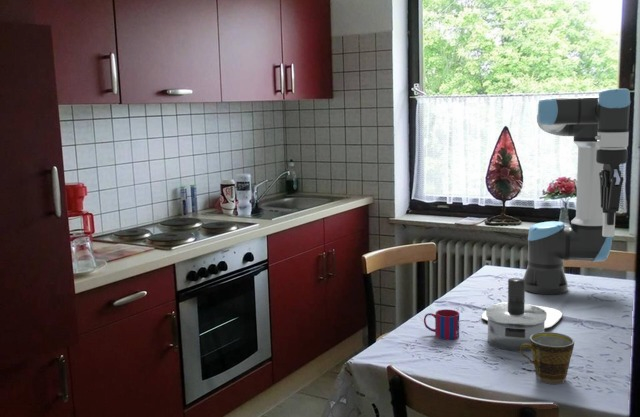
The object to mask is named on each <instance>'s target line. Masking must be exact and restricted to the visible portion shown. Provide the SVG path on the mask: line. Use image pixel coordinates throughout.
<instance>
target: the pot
mask: <svg viewBox="0 0 640 417" xmlns="http://www.w3.org/2000/svg"><path fill="white" fill-rule="evenodd" d="M544 323H545V322H543V323H541V324H537V325H531V326H513V325H506V324H501V323H497V322H494V321H492V320H490V319H489V318H488V321H487V342H488V343H489V344H490V345H491V346H493V347H494V348H496V349H497V348H498V349H501V350H504V351H510V352H520V348H521V346H522V345H523V344H526V343H527V344H530V345H531V343H530V337H531V335H533V334H535V333H540V332H545V329H544ZM523 352H532V350H531V348H530V347H524V348H523V349H522V353H523Z"/></svg>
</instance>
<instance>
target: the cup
mask: <svg viewBox="0 0 640 417" xmlns="http://www.w3.org/2000/svg"><path fill="white" fill-rule="evenodd" d="M428 316H432V317H433V318H434V320H435V323H434V324H435V325H434V327H435V328H431V327H430V326H428V324H427V321H426V319H427V317H428ZM423 324H424V326H425V328H426V329H427V330H429V331H431V332H433V333H435V334H434V335H435V337H436V338H437V339H440V340H445V341H451V340H452V341H453V340H457V339H458V338H460V312H459V311H457V310H454V309H438V310H436V311H435V313H432V312H431V313H430V312H428V313H426V314H425V315H424V317H423Z"/></svg>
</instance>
